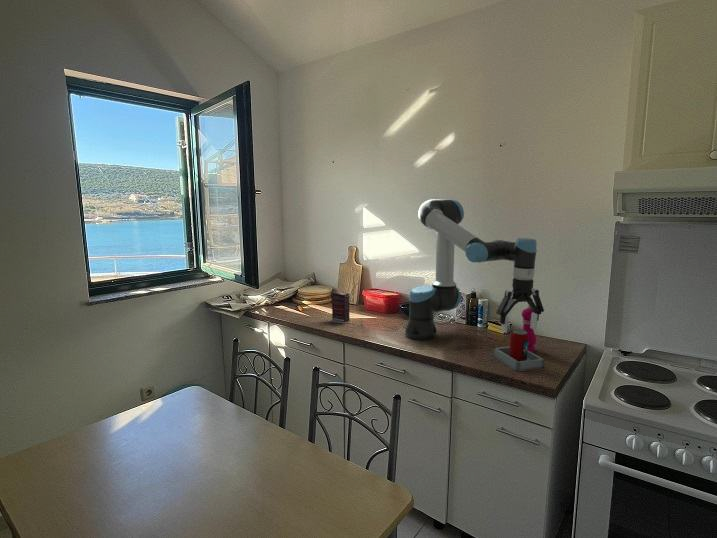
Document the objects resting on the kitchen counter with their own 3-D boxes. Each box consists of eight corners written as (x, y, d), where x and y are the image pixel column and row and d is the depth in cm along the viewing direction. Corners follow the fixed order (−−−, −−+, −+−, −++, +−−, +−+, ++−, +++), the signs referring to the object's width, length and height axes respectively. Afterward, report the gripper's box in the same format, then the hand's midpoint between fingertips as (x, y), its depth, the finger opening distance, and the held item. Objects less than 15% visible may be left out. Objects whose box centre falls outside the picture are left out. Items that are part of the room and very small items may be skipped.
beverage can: (528, 364, 160) (530, 334, 158) (510, 362, 161) (512, 333, 159) (525, 357, 166) (527, 329, 164) (507, 356, 168) (509, 328, 166)
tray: (493, 356, 170) (493, 348, 169) (517, 353, 173) (518, 345, 173) (517, 371, 155) (517, 362, 154) (543, 368, 158) (544, 359, 157)
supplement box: (350, 321, 219) (349, 293, 216) (344, 324, 215) (344, 294, 212) (337, 319, 223) (336, 291, 221) (331, 321, 219) (331, 292, 217)
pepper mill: (520, 345, 183) (523, 302, 179) (537, 349, 178) (541, 304, 175) (515, 350, 177) (518, 305, 174) (532, 353, 173) (536, 308, 169)
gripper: (501, 281, 151) (496, 335, 155) (557, 278, 158) (551, 330, 162) (489, 277, 159) (485, 329, 163) (543, 274, 165) (538, 324, 169)
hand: (518, 330), depth 162 cm, fingers open, 13 cm apart
